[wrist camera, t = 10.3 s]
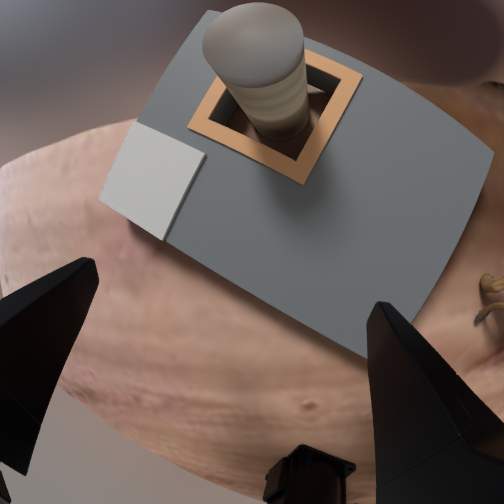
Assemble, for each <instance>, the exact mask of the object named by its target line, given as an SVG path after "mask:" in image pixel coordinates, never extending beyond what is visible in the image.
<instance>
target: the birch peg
mask: <svg viewBox="0 0 504 504" xmlns="http://www.w3.org/2000/svg"><path fill="white" fill-rule="evenodd" d="M202 51H203V55H204V57H205V59H206V61H207V62H208V64H209V65H210V66H211V67H212V69H213V70H214V71H215V73H216V74H217V75H218V77H219V78H220V79H221V81H222V82H223V83H224V85H225V86H226V87H227V89H228V90H229V92H230V93H231V94H232V96H233V97H234V98H235V100H236V101H237V103H238V104H239V105H240V107H241V108H242V110H243V111H244V112H245V114H246V115H247V117H248V118H249V120H250V121H251V122H252V124H253V125H254V127H255V128H256V130H257V131H258V132H259V133H260V134H262V135H263V136H265V137H267V138H270V139H273V140H286V139H290V138H292V137H294V136H296V135H298V134H299V133H300V132H301V131H302V130H303V129H304V127H305V126H306V124H307V121H308V117H309V110H308V92H307V76H306V63H305V50H304V39H303V31H302V27H301V25H300V23H299V21H298V20H297V18H296V17H295V16H294V15H293V14H292V13H290V12H289V11H287V10H285V9H284V8H282V7H279V6H277V5H273V4H267V3H249V4H244V5H239V6H236V7H234V8H231V9H229V10H227V11H226V12H224V13H222V14H221V15H219V16H218V17H217V18H216V19H215V20H214V21H213V22H212V23H211V24H210V25H209V27H208V28H207V30H206V32H205V34H204V37H203V41H202Z"/></svg>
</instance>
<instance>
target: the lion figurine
mask: <svg viewBox="0 0 504 504" xmlns="http://www.w3.org/2000/svg"><path fill="white" fill-rule="evenodd" d="M480 284H481V287H482V289H483V290H484V291H485V292H492V293H497V292H499V291H501V290H504V277H502V278H500V279H498V280H495V281H494V277H493V276H491V275H490V274H484V275H483V276H482V278H481V280H480ZM494 309H504V302H496V303H492V304H490V305H489V306H487V307H485V308H484V309H482V310H480V311H479V314H478V315H477V317H476V321H477V322H481V321H482V320H483V319H484V318H485V317H486V316H487V315H488V314H489V313H490V312H491V311H492V310H494Z"/></svg>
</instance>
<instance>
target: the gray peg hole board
mask: <svg viewBox="0 0 504 504" xmlns="http://www.w3.org/2000/svg"><path fill="white" fill-rule="evenodd" d="M221 14H222V13H221V12H217V11H212V10H208V11H207V12H206V13H205V15H204V16H203V17H202V18H201V20H200V21H199V22H198V24H197V25H196V27H195V28H194V29H193V31H192V32H191V33H190V35H189V36H188V38H187V39H186V40H185V42H184V43H183V45H182V46H181V48H180V49H179V51H178V52H177V54H176V55H175V57H174V58H173V60H172V61H171V63H170V64H169V66H168V68H167V69H166V71H165V72H164V74H163V76H162V77H161V79H160V80H159V82H158V84H157V86H156V87H155V89H154V91H153V92H152V94H151V96H150V98H149V99H148V101H147V103H146V105H145V107H144V109H143V110H142V112H141V114H140V116H139V118H138V120H137V121H134V122H133V124H132V126H131V128H130V130H129V132H128V134H127V136H126V138H125V140H124V142H123V144H122V146H121V148H120V150H119V152H118V155H117V157H116V159H115V161H114V163H113V166H112V168H111V170H110V173H109V175H108V177H107V180H106V182H105V185H104V187H103V189H102V192H101V194H100V197H99V200H101V201H102V202H104V203H105V204H107V205H108V206H110V207H111V208H113V209H114V210H116V211H117V212H119V213H120V214H122V215H123V216H125V217H126V218H128V219H129V220H131V221H132V222H134V223H135V224H137V225H138V226H140V227H141V228H143V229H145V230H146V231H148V232H149V233H151V234H152V235H154V236H155V237H157V238H159V239H160V240H165V241H166V242H168V243H169V244H171V245H172V246H174V247H176V248H177V249H179V250H180V251H182V252H184V253H185V254H187V255H188V256H190V257H192V258H193V259H195V260H196V261H198V262H200V263H201V264H203V265H205V266H206V267H208V268H209V269H211V270H213V271H214V272H216V273H218V274H219V275H221V276H223V277H224V278H226V279H228V280H229V281H231V282H233V283H234V284H236V285H238V286H239V287H241V288H243V289H244V290H246V291H248V292H249V293H251V294H253V295H254V296H256V297H258V298H259V299H261V300H263V301H265V302H266V303H268V304H270V305H271V306H273V307H275V308H277V309H278V310H280V311H282V312H283V313H285V314H287V315H289V316H290V317H292V318H294V319H296V320H297V321H299V322H301V323H303V324H304V325H306V326H308V327H310V328H311V329H313V330H315V331H317V332H319V333H320V334H322V335H324V336H326V337H328V338H329V339H331V340H333V341H335V342H337V343H338V344H340V345H342V346H344V347H346V348H348V349H349V350H351V351H353V352H355V353H357V354H359V355H360V356H362V357H364V358H366V359H367V332H366V324H367V320H368V317H369V315H370V313H371V311H372V309H373V307H374V305H375V303H376V302H378V301H384V302H389V303H391V304H392V305H393V306H394V307H395V308H396V309H397V310H398V311H399V312H400V313H401V314H402V315H403V316H404V317H405V319H406V320H407V321H408V322H409V323H410V324H411V322H412V321H413V319H414V318H415V316H416V315H417V313H418V311H419V310H420V308H421V307H422V305H423V304H424V302H425V300H426V299H427V297H428V296H429V294H430V292H431V291H432V289H433V287H434V285H435V284H436V282H437V280H438V279H439V277H440V275H441V273H442V271H443V270H444V268H445V266H446V264H447V262H448V260H449V259H450V257H451V255H452V253H453V251H454V249H455V247H456V245H457V243H458V241H459V239H460V237H461V235H462V233H463V231H464V229H465V226H466V224H467V222H468V220H469V218H470V215H471V213H472V211H473V209H474V206H475V204H476V201H477V199H478V197H479V194H480V192H481V189H482V186H483V184H484V181H485V179H486V176H487V173H488V170H489V167H490V165H491V162H492V159H493V156H494V152H493V151H492V150H491V149H490V148H489V147H487V146H486V145H485V144H484V143H483V142H482V141H481V140H479V139H478V138H477V137H476V136H475V135H473V134H472V133H471V132H470V131H469V130H467V129H466V128H465V127H464V126H462V125H461V124H460V123H458V122H457V121H456V120H454V119H453V118H452V117H450V116H449V115H448V114H446V113H445V112H444V111H442V110H441V109H439V108H438V107H437V106H435V105H434V104H432V103H431V102H429V101H428V100H426V99H425V98H423V97H422V96H420V95H419V94H417V93H416V92H414V91H412V90H411V89H409V88H407V87H406V86H404V85H403V84H401V83H399V82H398V81H396V80H394V79H392V78H391V77H389V76H387V75H385V74H383V73H381V72H380V71H378V70H376V69H374V68H372V67H370V66H368V65H366V64H365V63H363V62H360V61H358V60H356V59H354V58H352V57H350V56H348V55H346V54H343V53H342V52H339V51H337V50H335V49H332V48H330V47H328V46H326V45H323V44H320V43H318V42H316V41H313V40H311V39H308V38H306V37H303V39H304V50H305V63H306V76H307V84H309V85H312V86H314V87H316V88H318V89H320V90H322V91H325V92H327V93H329V94H331V95H333V96H332V97H331V99H330V101H329V103H328V104H327V106H326V108H325V110H324V112H323V113H322V115H321V117H320V119H319V121H318V122H317V124H316V126H315V128H314V130H313V131H312V133H311V135H310V137H309V139H308V140H307V142H306V144H305V146H304V148H303V149H302V151H301V153H300V155H299V157H298V158H297V160H296V161H295V160H293V159H291V158H289V157H287V156H285V155H283V154H281V153H279V152H277V151H275V150H273V149H271V148H269V147H267V146H265V145H263V144H261V143H259V142H257V141H255V140H253V139H251V138H249V137H247V136H244V135H242V134H240V133H238V132H236V131H234V130H231V129H229V128H227V127H226V125H227V123H228V121H229V120H230V118H231V116H232V114H233V113H234V111H235V109H236V108H237V106H238V103H237V101H236V100H235V98H234V97H233V96H232V94H231V93H230V92H229V90H228V89H227V87H226V86H225V85H224V83H223V82H222V81H221V79H220V78H219V77H218V75H217V74H216V73H215V71H214V70H213V69H212V67H211V66H210V65H209V64H208V62H207V61H206V59H205V57H204V55H203V51H202V41H203V37H204V34H205V32H206V30H207V28H208V27H209V25H210V24H211V23H212V22H213V21H214V20H215V19H216V18H217V17H218V16H219V15H221Z"/></svg>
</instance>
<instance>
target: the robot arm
mask: <svg viewBox="0 0 504 504" xmlns="http://www.w3.org/2000/svg"><path fill="white" fill-rule="evenodd" d="M98 284H99V277H98V273H97V268H96V264H95V261H94V259H92V258H87V257H81V258H79V259H77V260H75V261H73V262H71V263H69V264H67V265H65V266H63V267H61V268H59V269H57V270H55V271H53V272H51V273H49V274H47V275H45V276H43V277H41V278H39V279H37V280H35V281H33V282H32V283H30V284H28V285H26V286H24V287H22V288H20V289H18V290H17V291H15V292H13V293H11V294H9V295H8V296H6V297H4V298H2V299H1V300H0V463H1V462H3V463H4V464H5V465H7V466H9V467H10V468H12V469H14V470H15V471H17V472H19V473H21V474H22V475H24V476H26V474H27V471H28V468H29V464H30V460H31V457H32V454H33V450H34V446H35V444H36V440H37V437H38V434H39V431H40V428H41V424H42V422H43V419H44V416H45V413H46V410H47V408H48V405H49V402H50V399H51V397H52V394H53V392H54V389H55V387H56V384H57V382H58V379H59V377H60V374H61V372H62V370H63V367H64V365H65V363H66V360H67V358H68V356H69V354H70V351H71V349H72V347H73V345H74V342H75V340H76V338H77V336H78V334H79V332H80V330H81V328H82V325H83V323H84V321H85V318H86V316H87V313H88V310H89V308H90V305H91V303H92V300H93V297H94V295H95V292H96V290H97V287H98ZM366 332H367V365H368V377H369V385H370V394H371V404H372V414H373V427H374V441H375V460H376V486H377V487H376V504H504V423H503V422H502V421H501V420H500V419H499V418H498V416H497V415H496V414H495V413H494V412H493V411H492V410H491V409H490V408H489V407H488V406H487V405H486V404H485V403H484V402H483V401H482V400H481V399H480V398H479V397H478V396H477V395H476V394H475V393H474V392H473V391H472V390H471V389H470V388H469V387H468V385H467V384H466V383H465V382H464V381H463V380H462V379H461V378H460V376H459V375H456V372H455V371H454V370H453V369H452V368H451V366H450V365H449V364H448V363H447V362H446V361H445V360H444V359H443V358H442V357H441V355H440V354H439V353H438V352H437V351H436V350H435V349H434V348H433V347H432V346H431V345H430V344H429V343H428V341H427V340H426V339H425V338H424V337H423V336H422V335H421V334H420V333H419V332H418V331H417V330H416V329H415V328H414V327H413V326H412V325H411V324H410V323H409V322H408V321H407V320H406V319H405V317H404V316H403V315H402V314H401V313H400V312H399V311H398V310H397V309H396V308H395V307H394V306H393V305H392V304H391V303H389V302H384V301H378V302H376V303H375V305H374V307H373V309H372V311H371V313H370V315H369V317H368V320H367V324H366ZM301 449H304V450H301ZM355 470H356V465H355V464H354V463H351V462H348V461H345V460H342V459H340V458H337V457H334V456H332V455H329V454H327V453H324V452H322V451H319V450H317V449H314V448H312V447H309V446H307V445H299V446H298V447H297V448H295V449H294V450H293V451H292V452H291V453H290V454H289V455H288V456H287V457H284V458H282V459H281V460H280V461H279V462H278V463H277V464H276V465H275V466H273V467H272V468H271V469H270V470H269V473H268V474H267V475H266V477H265V480H266V481H267V482H266V487H265V491H264V495H263V501H264V502H267V504H346V479H345V478H346V477H348V476H349V475H350V474H351V473H353V472H354V471H355ZM10 503H11V498H10V495H9V493H8V490H7V487H6V484H5V481H4V478H3V475H2V472H1V470H0V504H10ZM356 504H357V503H356Z"/></svg>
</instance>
